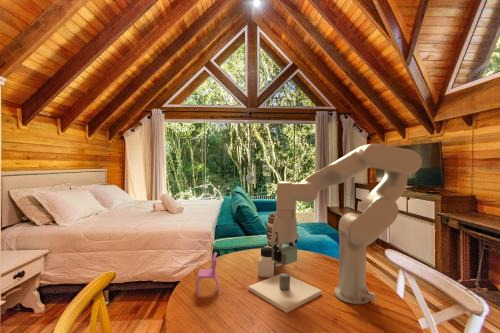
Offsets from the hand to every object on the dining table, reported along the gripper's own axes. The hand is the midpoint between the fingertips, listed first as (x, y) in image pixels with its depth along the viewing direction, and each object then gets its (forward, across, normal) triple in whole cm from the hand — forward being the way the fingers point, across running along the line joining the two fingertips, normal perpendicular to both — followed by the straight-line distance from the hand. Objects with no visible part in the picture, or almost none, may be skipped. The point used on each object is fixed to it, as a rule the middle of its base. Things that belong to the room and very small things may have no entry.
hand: (284, 258), depth 102 cm
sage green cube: (+1, 0, 0) cm, 1 cm away
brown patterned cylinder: (+13, -18, -23) cm, 32 cm away
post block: (+13, 0, 0) cm, 13 cm away
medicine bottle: (+14, -6, -16) cm, 22 cm away
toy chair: (+14, +23, -19) cm, 32 cm away
